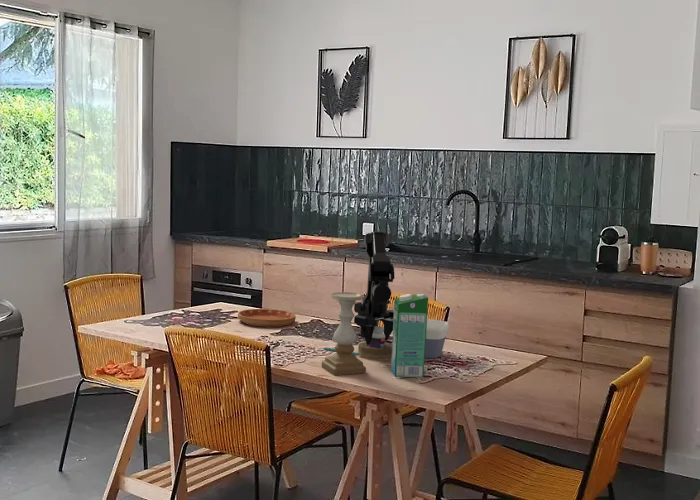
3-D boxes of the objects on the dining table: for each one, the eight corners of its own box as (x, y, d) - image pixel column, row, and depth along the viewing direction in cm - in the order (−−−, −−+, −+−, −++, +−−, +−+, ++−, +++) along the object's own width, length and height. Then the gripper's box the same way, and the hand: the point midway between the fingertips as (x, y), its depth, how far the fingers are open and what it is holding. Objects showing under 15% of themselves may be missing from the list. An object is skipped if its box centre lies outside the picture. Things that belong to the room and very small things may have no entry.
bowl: (450, 352, 284) (452, 321, 283) (441, 362, 270) (443, 329, 268) (408, 347, 289) (410, 316, 288) (396, 356, 275) (398, 324, 273)
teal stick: (361, 355, 274) (361, 353, 274) (360, 355, 273) (360, 353, 273) (325, 349, 280) (325, 347, 280) (324, 349, 279) (324, 347, 279)
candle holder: (333, 375, 246) (337, 298, 243) (320, 366, 256) (324, 292, 253) (366, 373, 250) (370, 297, 248) (352, 364, 260) (356, 291, 258)
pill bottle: (382, 358, 271) (384, 329, 270) (367, 356, 272) (368, 328, 271) (385, 354, 276) (386, 326, 275) (369, 353, 277) (371, 325, 276)
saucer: (264, 314, 337) (264, 306, 337) (307, 323, 324) (307, 314, 323) (225, 322, 319) (225, 312, 318) (269, 331, 305) (269, 321, 305)
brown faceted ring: (374, 349, 283) (374, 339, 282) (401, 356, 275) (401, 346, 274) (351, 354, 274) (351, 344, 273) (378, 361, 266) (379, 351, 265)
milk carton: (390, 369, 257) (394, 291, 254) (418, 369, 258) (423, 292, 255) (394, 376, 248) (399, 296, 245) (423, 377, 249) (428, 297, 246)
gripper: (378, 291, 284) (376, 334, 286) (342, 296, 270) (340, 341, 272) (403, 295, 277) (401, 340, 279) (368, 301, 263) (365, 348, 265)
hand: (376, 342), depth 274 cm, fingers open, 9 cm apart
